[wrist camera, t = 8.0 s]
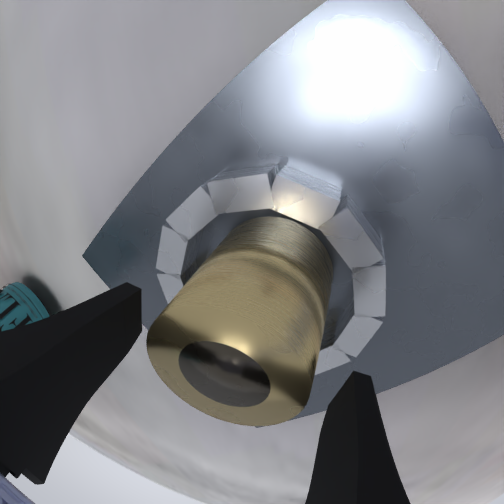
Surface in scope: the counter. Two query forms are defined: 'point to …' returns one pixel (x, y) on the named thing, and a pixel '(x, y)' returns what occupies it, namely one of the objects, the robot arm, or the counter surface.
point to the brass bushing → (248, 325)
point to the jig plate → (374, 150)
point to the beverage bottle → (19, 307)
